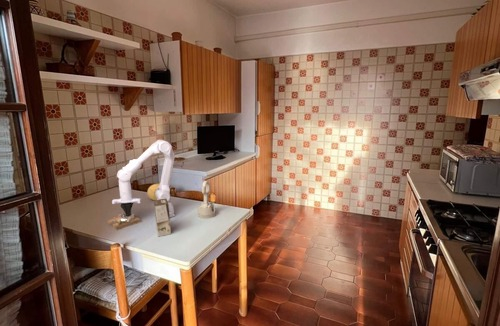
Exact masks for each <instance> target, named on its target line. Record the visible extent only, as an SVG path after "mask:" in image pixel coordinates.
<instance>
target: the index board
mask: <svg viewBox="0 0 500 326" xmlns="http://www.w3.org/2000/svg"><path fill="white" fill-rule="evenodd" d="M113 220H114V217H113V218H110V219H108V220H106V223H107V225H110V226H111V227H112V228H114V229H115V230H117V231H118V230H122V229H124V228H127V227H130V226H134V225H136V224H139V223H142V219H141V218H140V217H139V216H136V215H134V220H130V221H129V222H123V223H121V224H120V219H118V222H116V223H114V221H113Z"/></svg>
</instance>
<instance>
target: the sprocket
mask: <svg viewBox="0 0 500 326" xmlns="http://www.w3.org/2000/svg"><path fill="white" fill-rule="evenodd" d="M134 216H135V214H134V213H132V212H131V213H130V216H126V214H125V213H120V214H119V213H118V215H117V216H113V218H114V220H113V221H114V223H116V222H118V219H120V224H121V223H123V222H129V221H130V220H134Z"/></svg>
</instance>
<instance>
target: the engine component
mask: <svg viewBox="0 0 500 326" xmlns="http://www.w3.org/2000/svg"><path fill="white" fill-rule="evenodd" d="M210 190H211V183H210V181H209V180H204V181H203V182H202V186H201V193H202V194H203V201H202V202H201V205H200V206H197V217H198V218H200V219H203V220H205V219H206V220H207V219H212V218H214V217H215V216H216V208H215V207H216V206H215V205H216V204H215V202H213V201H209V198H210V197H209V196H210V195H209V193H210Z"/></svg>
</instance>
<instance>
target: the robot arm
mask: <svg viewBox="0 0 500 326" xmlns="http://www.w3.org/2000/svg"><path fill="white" fill-rule="evenodd" d="M160 153H161V155H162V156H163V157H164V161H163V166H162V171H161V177H160V182H159V184H160V185H159V186H158V189H157V190H156V192H155V195H156V197H157V198H158V199H157V200H159V199H167V201H168V204H169V216H170V218H173V217H175V216H176V214H175V212H174V205H173V203H171V194H170V192H171V189H170V182H171V178H172V173H173V166H174V163H175V158H176V157H175V152H174V150H173V146H172V145H171V143H170V142H169V141H167V140H164V139H157V140H156V141H155V142H153V143H152V144H151V145H149V147H148V148H147V149H146V150H145V151H144V152H143V153H141V154H140V156H139V157H138V158H133V159H130V160H129V161H128V164H126V165H125V166H122V168H121V169H119V170H118V171H117V174H116V178H117V179H118V190H119V198H116V199H115V198H113V199H112V200H111V203H112V205H115V204H120V207H121V209H122V210H123V212H124V214H126V216H130V213H132V208H133V204H141V203H142V199H141V198H137V197H135V198H134V197H133V193H132V185H131V181H130V180H131V177H132V176H133V175H134V174H135V173H137V171H139V170H140V169H141V168H142V167H143V166H142V165H143V163H144V162H145V161H147V159H150V157H152V156H153V155H154V154H160Z"/></svg>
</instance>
